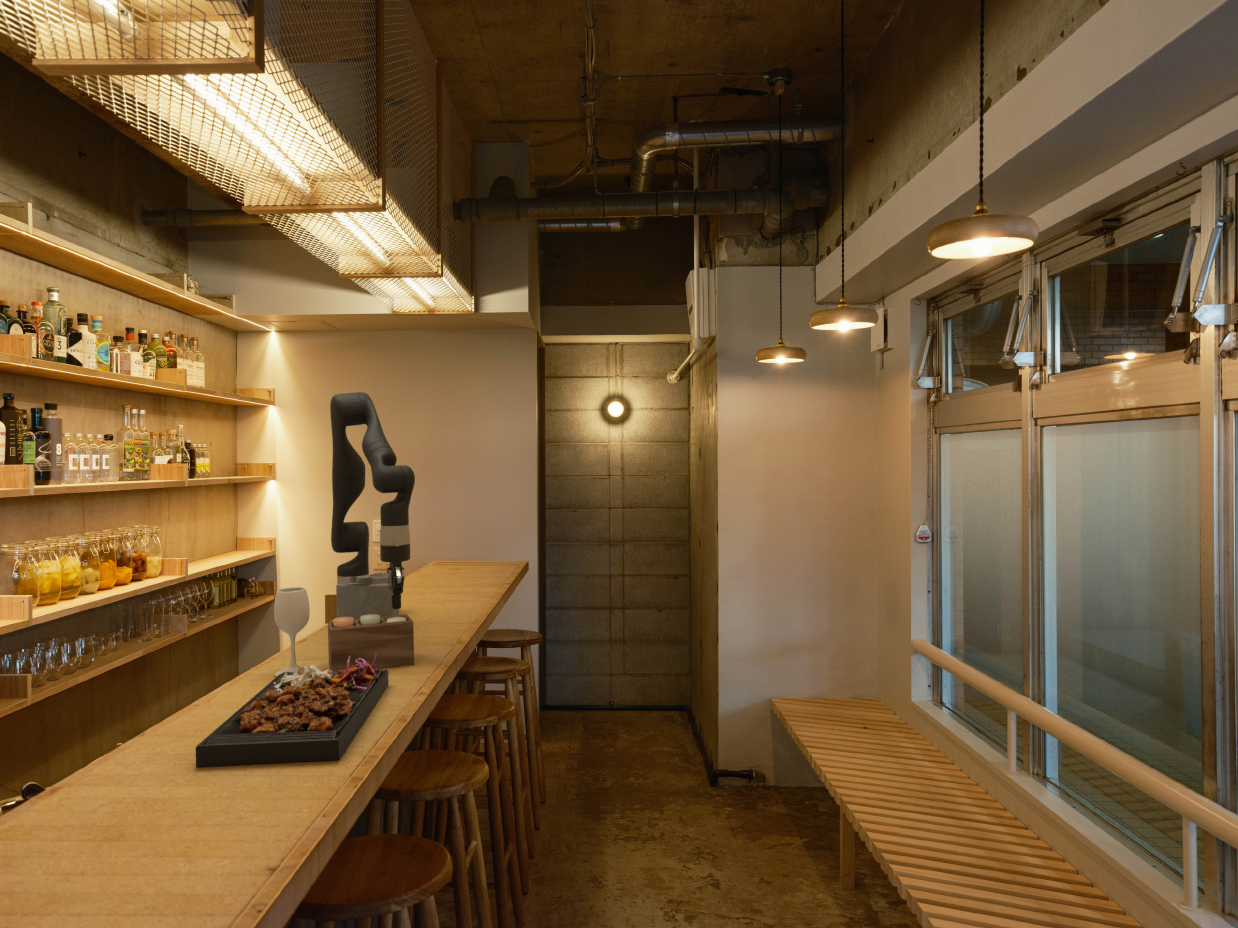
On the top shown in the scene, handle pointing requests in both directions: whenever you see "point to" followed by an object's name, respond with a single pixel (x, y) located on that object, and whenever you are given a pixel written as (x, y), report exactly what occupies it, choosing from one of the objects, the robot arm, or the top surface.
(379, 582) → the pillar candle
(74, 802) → the top surface
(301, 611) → the white bowl
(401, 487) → the robot arm
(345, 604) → the hip flask
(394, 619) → the pale beige egg
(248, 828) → the top surface
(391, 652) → the three egg wooden crate
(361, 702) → the food platter
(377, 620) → the pale green egg
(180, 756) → the top surface
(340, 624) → the orange brown egg
